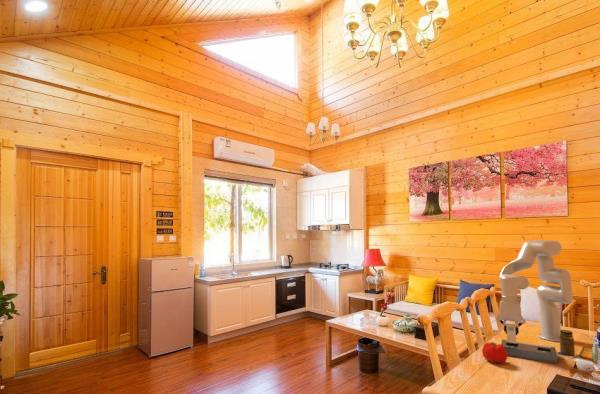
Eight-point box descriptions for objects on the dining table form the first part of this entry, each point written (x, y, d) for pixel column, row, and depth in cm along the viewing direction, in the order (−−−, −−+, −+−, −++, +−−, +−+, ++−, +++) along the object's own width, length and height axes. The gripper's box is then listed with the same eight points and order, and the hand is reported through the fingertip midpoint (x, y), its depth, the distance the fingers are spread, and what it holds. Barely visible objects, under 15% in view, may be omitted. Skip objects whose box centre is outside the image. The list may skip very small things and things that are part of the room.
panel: (502, 346, 191) (502, 338, 191) (555, 355, 178) (555, 346, 178) (501, 354, 179) (500, 345, 180) (557, 364, 166) (557, 355, 166)
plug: (507, 340, 185) (506, 323, 186) (516, 341, 183) (515, 324, 184) (507, 342, 181) (506, 325, 182) (516, 344, 179) (515, 326, 180)
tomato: (510, 367, 163) (509, 348, 164) (484, 364, 166) (483, 345, 167) (505, 359, 173) (504, 341, 173) (481, 356, 176) (480, 339, 177)
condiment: (578, 355, 178) (576, 331, 180) (572, 358, 174) (570, 334, 175) (561, 350, 184) (560, 328, 186) (555, 354, 180) (553, 330, 181)
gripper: (527, 299, 183) (530, 334, 182) (492, 296, 193) (494, 329, 191) (528, 302, 177) (530, 338, 175) (491, 298, 186) (493, 333, 185)
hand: (511, 333), depth 183 cm, fingers closed on plug, 4 cm apart
